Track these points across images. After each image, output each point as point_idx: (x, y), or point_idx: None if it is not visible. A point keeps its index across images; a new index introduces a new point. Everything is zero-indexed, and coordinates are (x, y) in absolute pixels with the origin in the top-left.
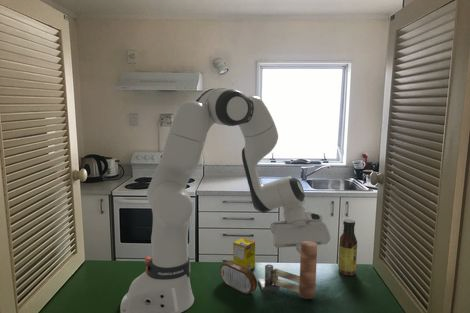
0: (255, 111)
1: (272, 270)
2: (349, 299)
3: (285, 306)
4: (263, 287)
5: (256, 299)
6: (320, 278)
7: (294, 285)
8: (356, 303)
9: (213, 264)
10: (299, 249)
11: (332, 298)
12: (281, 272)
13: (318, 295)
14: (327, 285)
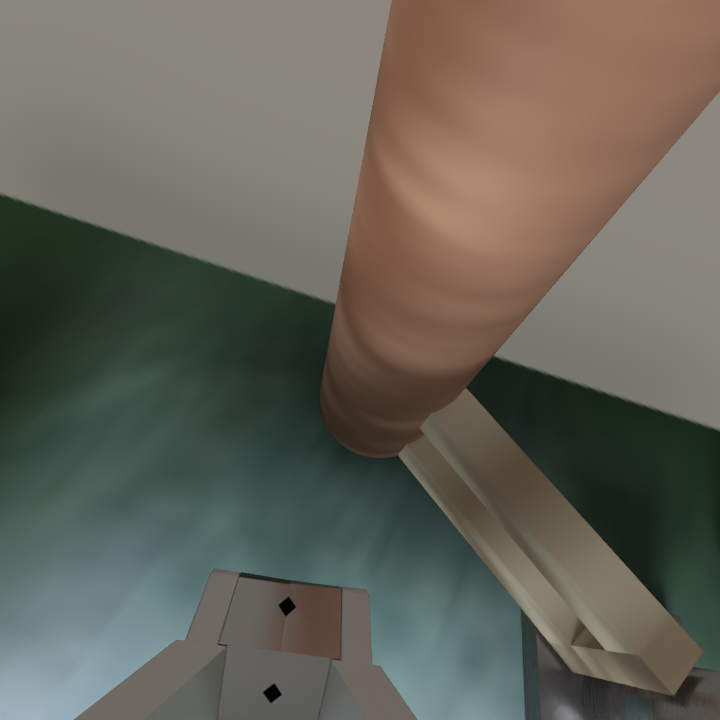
0: None
1: (692, 678)
2: (95, 316)
3: (534, 387)
4: (672, 616)
5: (704, 516)
6: (56, 684)
7: (454, 481)
8: (91, 271)
9: None
10: (415, 718)
11: (198, 362)
12: (612, 563)
13: (269, 423)
14: (96, 531)
